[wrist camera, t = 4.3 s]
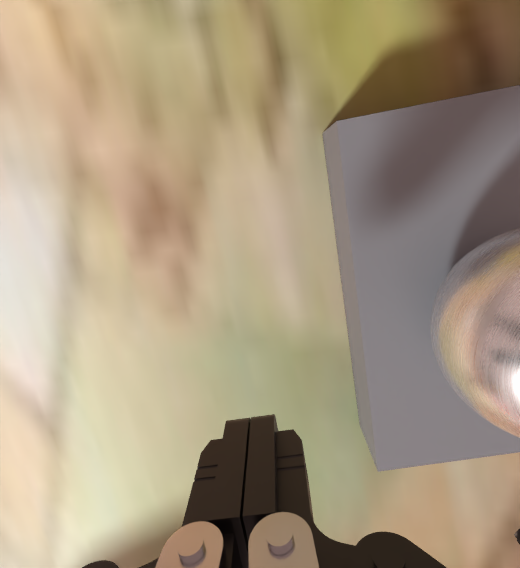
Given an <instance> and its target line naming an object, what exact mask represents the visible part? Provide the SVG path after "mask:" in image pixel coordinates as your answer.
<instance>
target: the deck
mask: <svg viewBox="0 0 520 568" xmlns="http://www.w3.org/2000/svg"><path fill="white" fill-rule="evenodd" d="M323 141H324V149H325V157H326V164H327V172H328V180H329V188H330V196H331V204H332V211H333V219H334V227H335V235H336V243H337V250H338V258H339V266H340V274H341V282H342V290H343V297H344V305H345V313H346V321H347V329H348V337H349V344H350V352H351V360H352V368H353V376H354V383H355V391H356V399H357V407H358V415H359V423H360V427H361V429H362V432H363V434H364V437H365V440H366V442H367V445H368V447H369V450H370V453H371V455H372V458H373V460H374V463H375V465H376V468H377V471H385V470H392V469H400V468H407V467H414V466H422V465H429V464H436V463H444V462H451V461H458V460H466V459H473V458H480V457H487V456H495V455H502V454H509V453H517V452H520V438H519V437H517V436H515V435H512V434H510V433H508V432H506V431H504V430H502V429H500V428H498V427H497V426H495V425H493V424H492V423H490V422H489V421H487V420H486V419H484V418H483V417H481V416H480V415H479V414H477V413H476V412H475V411H474V410H472V409H471V408H470V407H469V406H468V405H467V404H466V403H465V402H464V401H463V400H462V399H461V398H460V397H459V396H458V395H457V394H456V392H455V391H454V390H453V388H452V387H451V386H450V384H449V383H448V381H447V380H446V378H445V377H444V375H443V373H442V371H441V369H440V366H439V364H438V362H437V360H436V357H435V354H434V350H433V346H432V340H431V333H430V320H431V313H432V307H433V304H434V300H435V297H436V294H437V292H438V290H439V287H440V285H441V284H442V282H443V280H444V279H445V277H446V276H447V274H448V273H449V272H450V270H451V269H452V268H453V267H454V265H455V264H456V263H457V262H458V261H459V260H460V259H461V258H463V257H464V256H465V255H466V254H467V253H469V252H470V251H471V250H473V249H474V248H476V247H477V246H479V245H480V244H482V243H483V242H485V241H487V240H489V239H491V238H493V237H495V236H497V235H499V234H502V233H505V232H508V231H510V230H513V229H516V228H520V85H517V86H512V87H507V88H502V89H497V90H492V91H487V92H481V93H476V94H471V95H466V96H461V97H456V98H451V99H446V100H441V101H436V102H431V103H426V104H420V105H415V106H410V107H405V108H400V109H395V110H390V111H385V112H380V113H375V114H370V115H365V116H359V117H354V118H349V119H344V120H339V121H336V122H335V123H334V124H333V125H331V126H330V127H329V128H328V129H327V130H326V131H324V132H323Z"/></svg>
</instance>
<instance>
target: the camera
mask: <svg viewBox="0 0 520 568" xmlns="http://www.w3.org/2000/svg"><path fill="white" fill-rule="evenodd" d="M514 535H515V537H516V538H517V541H518V543H519V544H520V529H519V530H518V531H517V532H516V533H515V534H514Z"/></svg>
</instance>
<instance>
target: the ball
mask: <svg viewBox="0 0 520 568" xmlns="http://www.w3.org/2000/svg"><path fill="white" fill-rule="evenodd" d="M430 333H431V340H432V346H433V350H434V354H435V357H436V360H437V362H438V364H439V366H440V369H441V371H442V373H443V375H444V377H445V378H446V380H447V381H448V383H449V384H450V386H451V387H452V388H453V390H454V391H455V392H456V394H457V395H458V396H459V397H460V398H461V399H462V400H463V401H464V402H465V403H466V404H467V405H468V406H469V407H470V408H471V409H472V410H474V411H475V412H476V413H477V414H479V415H480V416H481V417H483V418H484V419H486V420H487V421H489V422H490V423H492V424H493V425H495V426H497V427H498V428H500V429H502V430H504V431H506V432H508V433H510V434H512V435H515V436H517V437H519V438H520V228H516V229H513V230H510V231H508V232H505V233H502V234H499V235H497V236H495V237H493V238H491V239H489V240H487V241H485V242H483V243H482V244H480V245H479V246H477V247H476V248H474V249H473V250H471V251H470V252H469V253H467V254H466V255H465V256H464V257H463V258H461V259H460V260H459V261H458V262H457V263H456V264H455V265H454V267H453V268H452V269H451V270H450V272H449V273H448V274H447V276H446V277H445V279H444V280H443V282H442V284H441V285H440V287H439V290H438V292H437V294H436V297H435V300H434V304H433V307H432V313H431V320H430Z"/></svg>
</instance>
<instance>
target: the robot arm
mask: <svg viewBox="0 0 520 568" xmlns="http://www.w3.org/2000/svg"><path fill="white" fill-rule="evenodd" d="M194 480H195V481H194V482H193V486H192V490H191V494H190V498H189V501H188V505H187V509H186V513H185V517H184V521H183V524H182V527H181V528H180V529H178V530H177V531H176V532H174V533H173V534H172V535H171V536H170V538H169V539H168V540H167V541H166V543H165V545H164V547H163V549H162V551H161V554H160V556H159V558H157V559H156V560H154V561H152V562H150V563H148V564H146V565H144V566H141V567H139V568H446V567H445V566H444V565H442V564H441V563H440V562H438V561H437V560H435V559H434V558H433V557H431V556H430V555H429V554H427V553H426V552H424V551H423V550H422V549H420V548H419V547H418V546H416V545H415V544H413V543H412V542H411V541H409V540H408V539H406V538H405V537H402V536H400V535H398V534H395V533H390V532H375V533H372V534H369V535H367V536H365V537H364V538H362V539H361V540H360V541H359V542H358V543H357V545H356V546H354V545H349V544H344V543H340V542H337V541H334V540H332V539H330V538H328V537H327V536H325V535H324V534H323V533H322V532H320V531H319V529H318V528H317V527H316V525H315V524H314V520H313V513H312V505H311V497H310V489H309V482H308V476H307V470H306V463H305V457H304V451H303V445H302V440H301V439H300V437H299V436H298V435H297V434H296V432H295V431H294V430H286V431H278V428H277V423H276V418H275V415H266V416H259V417H251V419H250V418H244V419H237V420H229V421H226V424H225V429H224V435H223V439H216V440H211V441H210V442H209V443H208V445H207V446H206V447H205V449H204V450H203V451H202V453H201V455H200V459H199V463H198V470H197V471H196V475H195V478H194ZM82 568H119V567H118V566H117V565H116V564H115V563H113V562H111V561H106V560H104V561H96V562H93V563H90V564H88V565H86V566H84V567H82Z"/></svg>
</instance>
